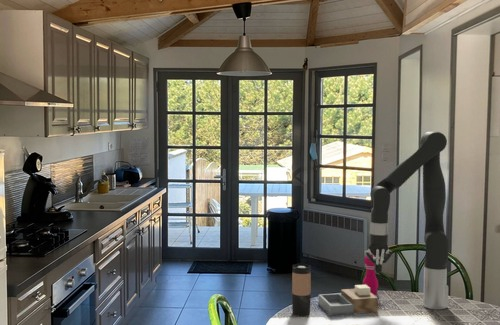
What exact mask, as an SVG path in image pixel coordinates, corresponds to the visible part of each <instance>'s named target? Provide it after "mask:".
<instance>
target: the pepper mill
mask: <svg viewBox="0 0 500 325" xmlns="http://www.w3.org/2000/svg"><path fill="white" fill-rule="evenodd" d="M370 253H371V252H370ZM370 255H371V257H372V258H373V255H372V253H371V254H370ZM363 260H364V264H365V267H364V268H365V269H366V270H365V271H366V272H365V277H364V278H363V280H362V285H367V286H368V287H370V292H371V293H372V294H373V295H375V296H378V290H377V289H379V281H378V279H377V276H376V272H375V271H374V263H372V262H370V261H369V259H368V258H367V256H366V255H365V257H364V259H363ZM373 260H374V258H373Z"/></svg>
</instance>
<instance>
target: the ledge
mask: <svg viewBox="0 0 500 325" xmlns="http://www.w3.org/2000/svg"><path fill="white" fill-rule="evenodd" d="M340 294H342V295H343V296H344V297H345V298H346V299H348V300H349V301H350V302H351V303H352V304H353V305H354V314H365V313H367V314H368V313H378V311H379V310H378V309H379V308H378V307H379V298H378V297H377V295H373V294H372V293H371V292H370V295H358V294H357V293H355V288H347V289H346V288H344V289H340Z"/></svg>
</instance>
